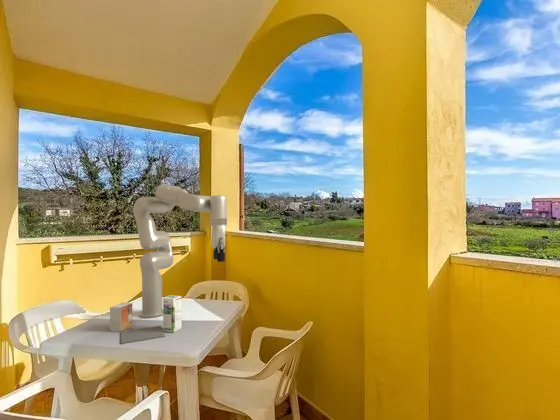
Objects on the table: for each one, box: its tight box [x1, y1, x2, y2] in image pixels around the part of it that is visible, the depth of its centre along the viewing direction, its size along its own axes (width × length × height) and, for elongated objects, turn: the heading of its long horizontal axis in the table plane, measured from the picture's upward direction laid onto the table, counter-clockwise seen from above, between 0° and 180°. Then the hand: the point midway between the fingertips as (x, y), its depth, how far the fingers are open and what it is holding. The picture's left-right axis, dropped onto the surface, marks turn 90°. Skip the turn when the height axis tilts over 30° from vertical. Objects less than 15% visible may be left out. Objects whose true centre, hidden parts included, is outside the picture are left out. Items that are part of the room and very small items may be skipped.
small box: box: [109, 302, 133, 333], centre depth 142 cm, size 8×6×10 cm
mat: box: [120, 325, 165, 345], centre depth 134 cm, size 14×16×1 cm
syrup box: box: [162, 294, 182, 333], centre depth 140 cm, size 6×6×14 cm
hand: (219, 260), depth 145 cm, fingers open, 9 cm apart
